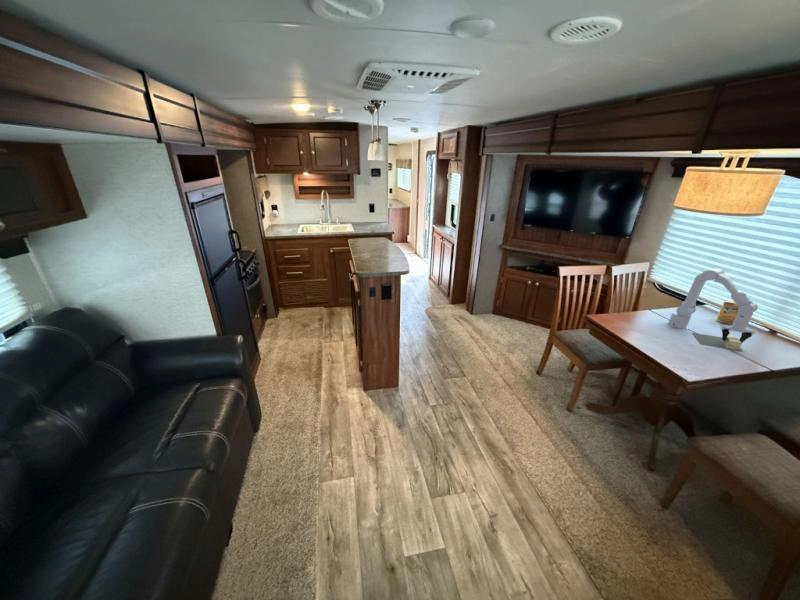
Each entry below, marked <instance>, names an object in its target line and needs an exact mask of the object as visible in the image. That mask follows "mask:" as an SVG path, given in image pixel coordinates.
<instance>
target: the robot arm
mask: <svg viewBox="0 0 800 600" xmlns="http://www.w3.org/2000/svg"><path fill="white" fill-rule="evenodd" d="M712 280H713V282H716V283H720V284H721V285H722V286H723V287H724V288H725V289H726V290H727V291H728V292H729V293H730V298H731V299H732V301H733V302H735V303H736V304H737V305H738V306H739V307H738V310H739V313H738V314H737V316H736V318H735V320H734V322H733V325H732V324H731V325H720V330H721V335H722V336H721V337H722V340H723V341H725V340H726V338H727V336H728V335H731V334H730V333H731V332H730V331H732V332H738V333H741V336H740V338H738V339H739V340H740V341H741V342H742V344H743V343H744V342H745V341H746V340H748V339H749V338H751V337H752V336H753V335H754V334H756V331H755V330H754V329H750V328H747V327H748V325H749V323H750V321H751V320H752V317H753V315H754V313H755V312H756V311H757V310H759V309H758V308H759V307H758V304H757V303H754V302H753V301H752V300H750V298H749V297H748V296H747V295H748V294H747V293H744V292H743V291H739V289H738V288H737V287H736V285H735V284H734V282H733V281H732V279H731V278H730V277H729V275H728V273H727V272H726V271H725V270H724V268H720V267H718V268H712V269H708V270H704V271H702V272H701V273H700V274H697V276H695V277H694V280H693V282H692V284H691V286H690V289H689V291H688V292H687V293H688V294H687V296H686V298H685V300H684V301H683V302H681V304H680V305H679V306H678V307H677V308H676V312H673V313H671V315H670V318H669V321H668V324H669V326H670V327H672V328H678V329H683V330H689V327H688V324H689V323H690V320H691V318H692V315H693V314H694V313H695V312H696V310H697V309H696V306H697V303H696V302H697V300H698V298H699V296H700V294H701V292H702V290H703V289H704V286H705V283H706V282H709V281H712Z"/></svg>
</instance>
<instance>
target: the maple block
mask: <svg viewBox="0 0 800 600" xmlns="http://www.w3.org/2000/svg"><path fill="white" fill-rule="evenodd" d="M739 339H740V338H738V337H737V335H732V334H729V335H728V336H727V338H726V340H725V341H723V340H722V342H723V343H724V344H725V345H726V346H727V347H728V348H734V349H739V348H741V347H742V344H743V343H742V342H741V341H740V340H739Z"/></svg>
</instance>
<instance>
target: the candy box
mask: <svg viewBox="0 0 800 600" xmlns="http://www.w3.org/2000/svg"><path fill="white" fill-rule="evenodd" d="M738 307H739V306H738V305H737V304H736V303H735V302H734V301H733V300H732V301H731V300H726V299H725V300H724V301H723V303H722V306H721V307H720V310H719V312H718V314H717V317H716V319H715V320H716V322H720V323H725V324H728V325H731V326H732V325H733V322H734V320H735V318H736V316H737V314H738V313H739V310H738Z"/></svg>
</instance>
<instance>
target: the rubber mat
mask: <svg viewBox="0 0 800 600" xmlns="http://www.w3.org/2000/svg"><path fill="white" fill-rule="evenodd" d="M691 334H692V335H693V337H694V339H695V340H696V341H697V342H698V344H699V345H701V346H707V347H708V346H709V347H713V348H718V349H719V348H721V349H725V350H730V351H731V350H732V351H737V352H742V353H743V352H745V351H744V350H743V349H742V348H741V347H740V348H739V349H734V348H728V347H727V346H726V345H725V344H724V343H723V342H722V336H715V335H710V334H709V335H708V334H703V333H697V332H691Z"/></svg>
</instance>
